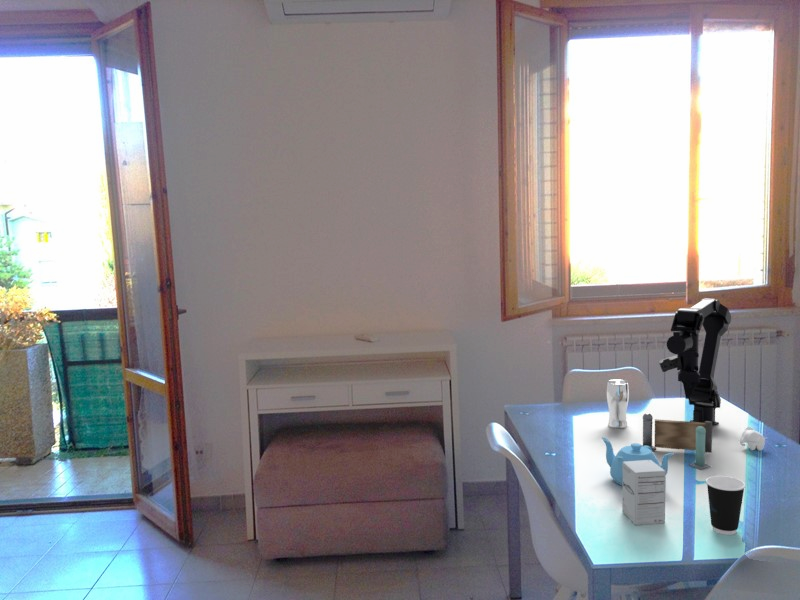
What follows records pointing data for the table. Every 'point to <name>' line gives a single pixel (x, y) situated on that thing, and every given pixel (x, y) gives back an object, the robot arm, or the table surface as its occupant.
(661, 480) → the supplement box
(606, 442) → the teapot
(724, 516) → the dixie cup
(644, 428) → the hinge post
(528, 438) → the table surface
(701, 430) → the post
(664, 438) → the gate
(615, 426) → the beer glass
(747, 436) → the elephant figurine
